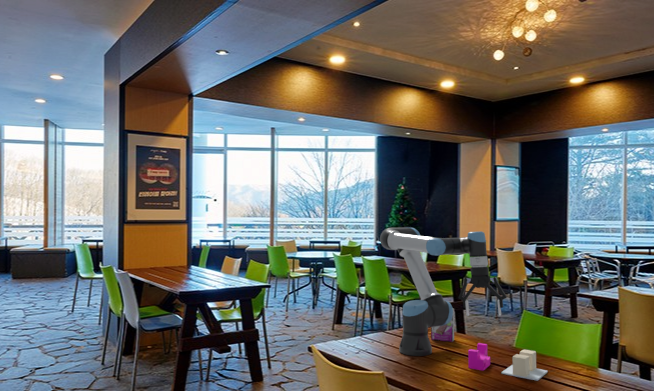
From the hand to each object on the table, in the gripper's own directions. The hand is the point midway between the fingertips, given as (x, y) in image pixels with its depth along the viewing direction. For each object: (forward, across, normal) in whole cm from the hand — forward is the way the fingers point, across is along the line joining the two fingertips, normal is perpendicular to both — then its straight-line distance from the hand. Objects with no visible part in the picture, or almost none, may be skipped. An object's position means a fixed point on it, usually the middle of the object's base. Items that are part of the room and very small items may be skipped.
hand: (483, 315), depth 216 cm
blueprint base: (+22, +15, -6) cm, 27 cm away
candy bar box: (+16, -27, +33) cm, 46 cm away
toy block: (+21, -3, -2) cm, 21 cm away
